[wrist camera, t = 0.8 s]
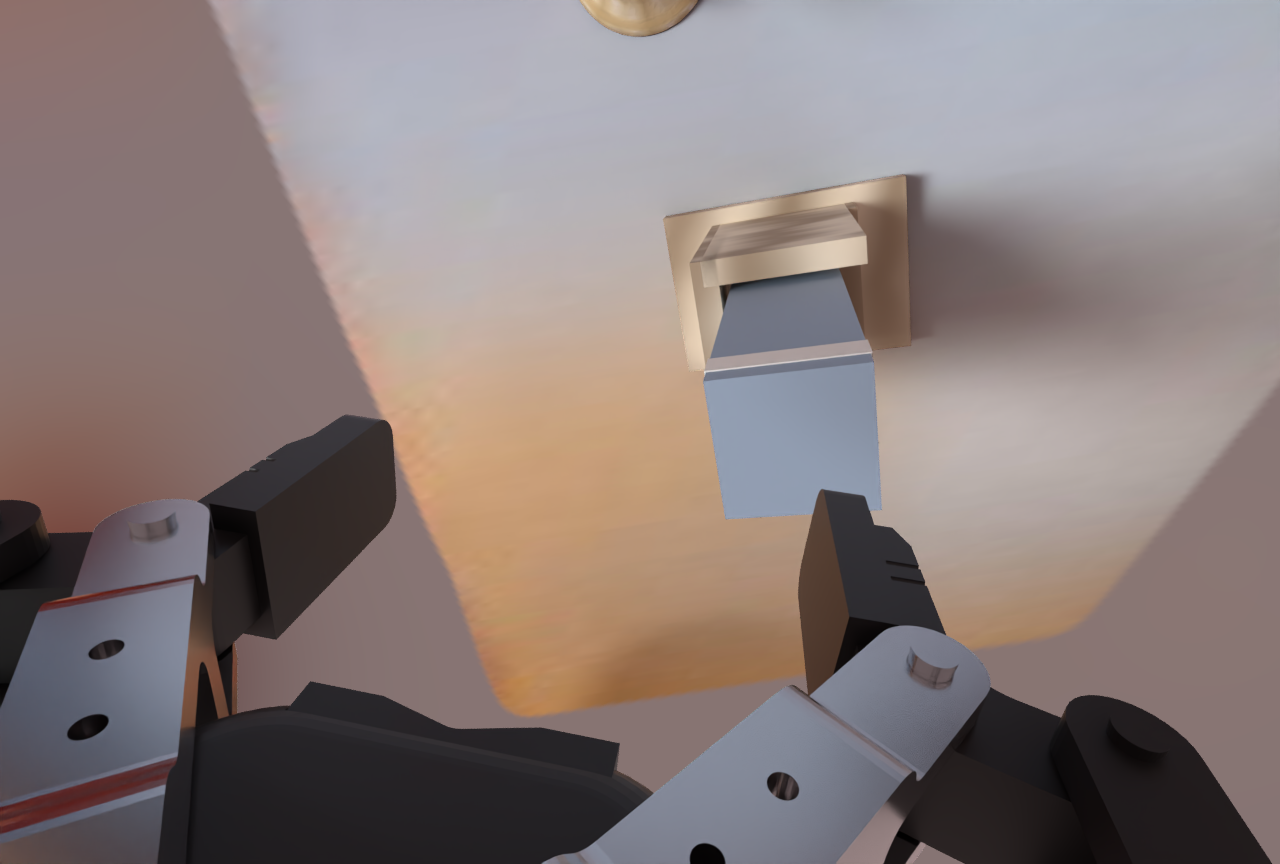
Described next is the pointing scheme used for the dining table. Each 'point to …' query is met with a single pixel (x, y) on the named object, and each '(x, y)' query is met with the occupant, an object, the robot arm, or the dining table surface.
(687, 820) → the robot arm
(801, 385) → the block
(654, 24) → the hand bell
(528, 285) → the dining table surface
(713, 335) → the tan frame
